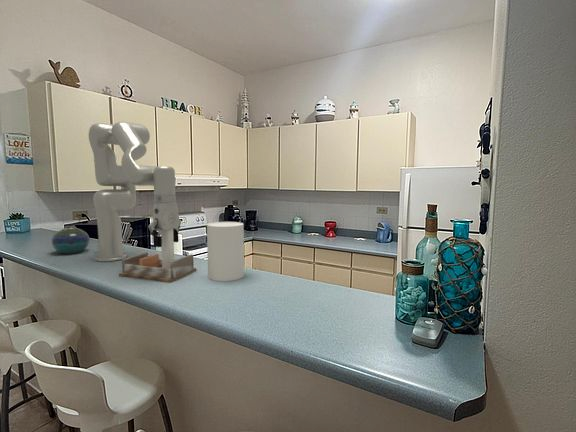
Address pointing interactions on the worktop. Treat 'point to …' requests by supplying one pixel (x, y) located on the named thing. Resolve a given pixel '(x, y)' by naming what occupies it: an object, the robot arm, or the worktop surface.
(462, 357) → the worktop surface
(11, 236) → the worktop surface
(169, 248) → the candle
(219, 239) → the canister
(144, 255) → the grey brown open box
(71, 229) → the vase
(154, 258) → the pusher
